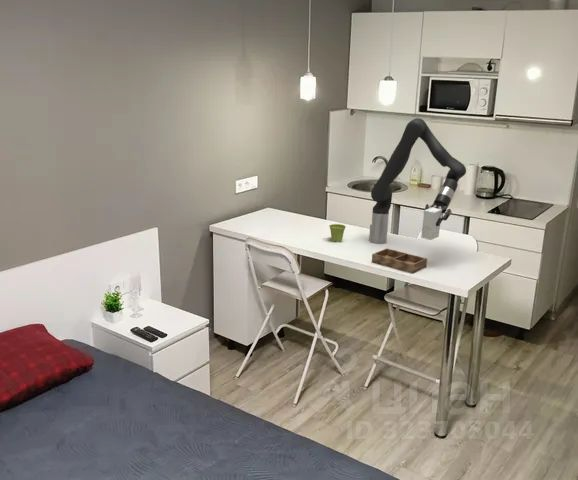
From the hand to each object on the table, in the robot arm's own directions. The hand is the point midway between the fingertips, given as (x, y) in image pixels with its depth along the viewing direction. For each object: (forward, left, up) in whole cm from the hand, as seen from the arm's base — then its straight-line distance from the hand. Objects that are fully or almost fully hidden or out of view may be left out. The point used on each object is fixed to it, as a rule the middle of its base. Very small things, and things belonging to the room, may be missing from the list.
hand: (430, 224), depth 309 cm
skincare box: (0, +1, -8) cm, 8 cm away
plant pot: (-58, 0, -22) cm, 62 cm away
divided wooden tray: (-10, -11, -22) cm, 26 cm away
